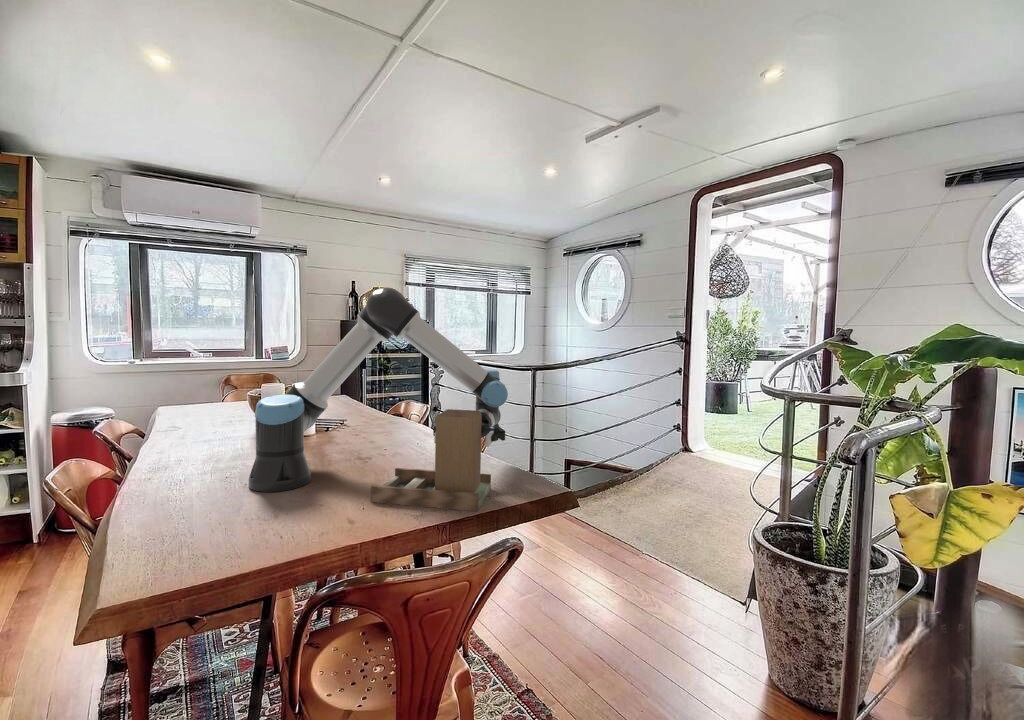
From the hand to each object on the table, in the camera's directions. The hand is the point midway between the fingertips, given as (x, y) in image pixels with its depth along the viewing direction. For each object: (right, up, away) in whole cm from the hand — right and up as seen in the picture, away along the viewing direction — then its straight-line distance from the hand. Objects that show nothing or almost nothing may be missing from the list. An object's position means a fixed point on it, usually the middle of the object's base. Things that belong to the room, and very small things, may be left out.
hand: (461, 439), depth 118 cm
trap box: (-7, -15, +1) cm, 16 cm away
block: (-1, -13, 0) cm, 13 cm away
